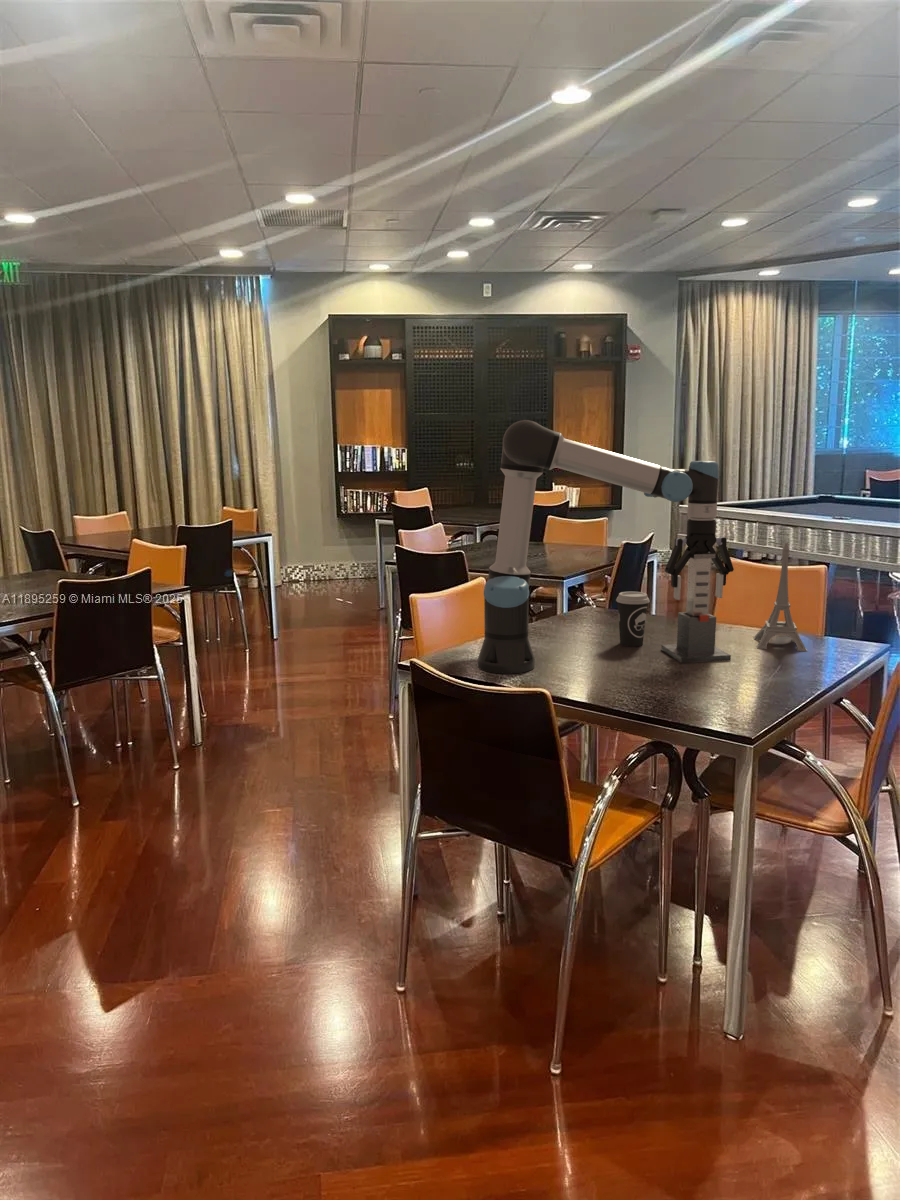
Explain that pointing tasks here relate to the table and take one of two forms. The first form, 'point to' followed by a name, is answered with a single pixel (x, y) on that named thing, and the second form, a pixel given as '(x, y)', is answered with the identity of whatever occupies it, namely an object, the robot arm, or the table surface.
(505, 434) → the robot arm
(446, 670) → the table surface
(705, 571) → the column
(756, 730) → the table surface
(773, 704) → the table surface
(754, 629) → the table surface
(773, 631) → the eiffel tower
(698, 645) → the stand base
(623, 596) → the coffee cup
